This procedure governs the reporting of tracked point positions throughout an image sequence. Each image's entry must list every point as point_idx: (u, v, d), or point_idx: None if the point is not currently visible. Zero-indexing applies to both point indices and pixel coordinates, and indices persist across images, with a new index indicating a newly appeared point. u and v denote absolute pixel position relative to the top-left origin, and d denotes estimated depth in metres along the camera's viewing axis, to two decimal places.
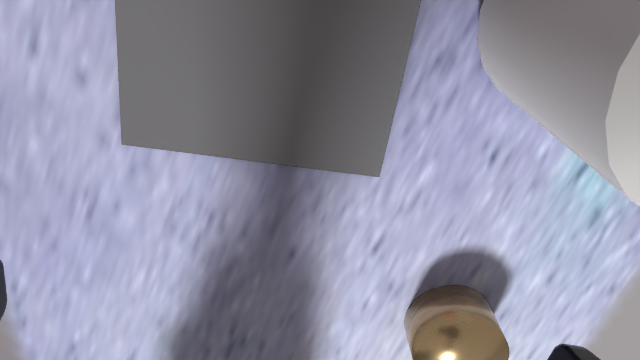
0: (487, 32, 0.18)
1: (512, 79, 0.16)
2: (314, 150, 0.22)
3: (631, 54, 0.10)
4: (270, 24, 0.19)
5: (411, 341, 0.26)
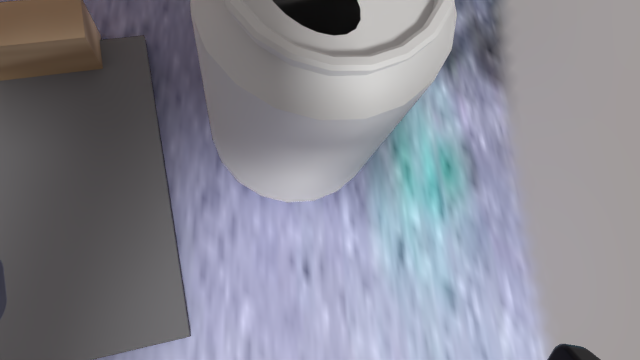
0: (217, 144, 0.20)
1: (230, 149, 0.18)
2: (102, 331, 0.19)
3: None
4: (21, 215, 0.19)
5: None
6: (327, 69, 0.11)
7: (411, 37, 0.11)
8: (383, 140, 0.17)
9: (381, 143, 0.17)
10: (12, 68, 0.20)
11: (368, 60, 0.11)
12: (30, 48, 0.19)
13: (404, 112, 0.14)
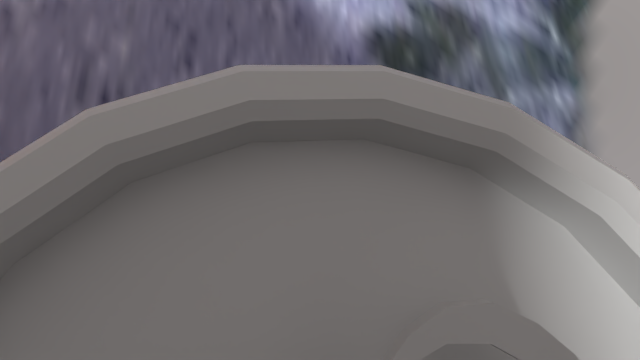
0: None
1: None
2: None
3: None
4: None
5: None
6: None
7: None
8: None
9: None
10: None
11: None
12: None
13: None
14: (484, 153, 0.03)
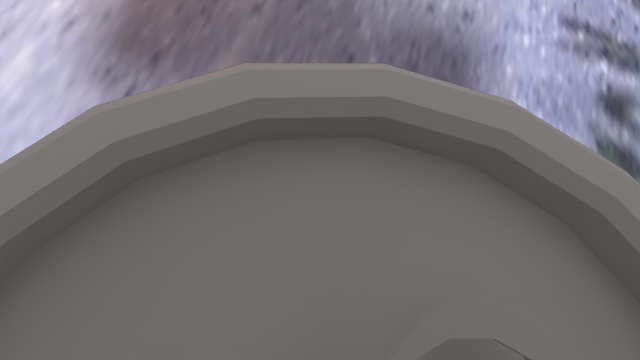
0: None
1: None
2: None
3: None
4: None
5: None
6: None
7: None
8: None
9: None
10: None
11: None
12: None
13: None
14: (486, 151, 0.03)
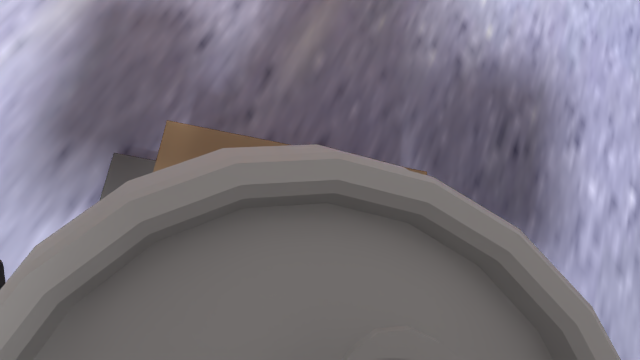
0: None
1: None
2: None
3: None
4: None
5: None
6: None
7: None
8: None
9: None
10: None
11: None
12: None
13: None
14: (414, 215, 0.05)
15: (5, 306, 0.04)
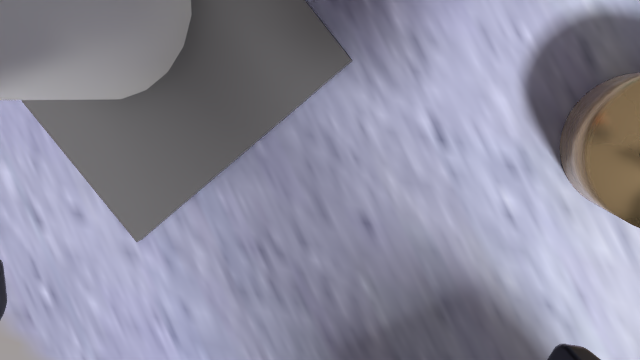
0: None
1: None
2: (270, 96, 0.18)
3: None
4: None
5: (593, 197, 0.16)
6: None
7: None
8: None
9: None
10: None
11: None
12: None
13: None
14: None
15: None
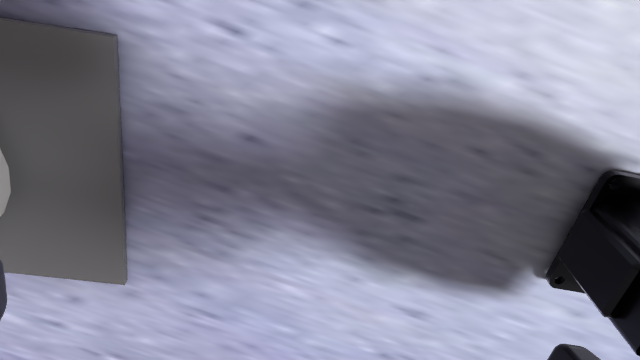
0: None
1: None
2: (92, 115, 0.19)
3: None
4: None
5: None
6: None
7: None
8: None
9: None
10: None
11: None
12: None
13: None
14: None
15: None
